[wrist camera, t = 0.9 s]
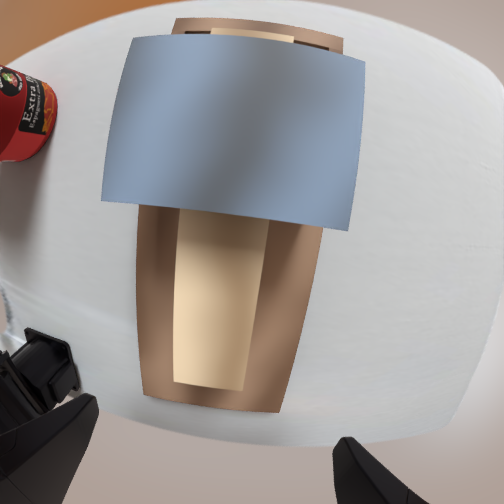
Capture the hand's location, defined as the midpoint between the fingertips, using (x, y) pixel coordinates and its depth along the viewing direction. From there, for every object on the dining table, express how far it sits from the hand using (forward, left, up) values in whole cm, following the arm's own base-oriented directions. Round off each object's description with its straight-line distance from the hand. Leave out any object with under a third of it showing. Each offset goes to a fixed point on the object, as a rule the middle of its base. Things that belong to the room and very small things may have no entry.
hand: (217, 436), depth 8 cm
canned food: (-21, +13, -13) cm, 28 cm away
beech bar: (-1, +6, -11) cm, 13 cm away
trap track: (-1, +5, -13) cm, 14 cm away
